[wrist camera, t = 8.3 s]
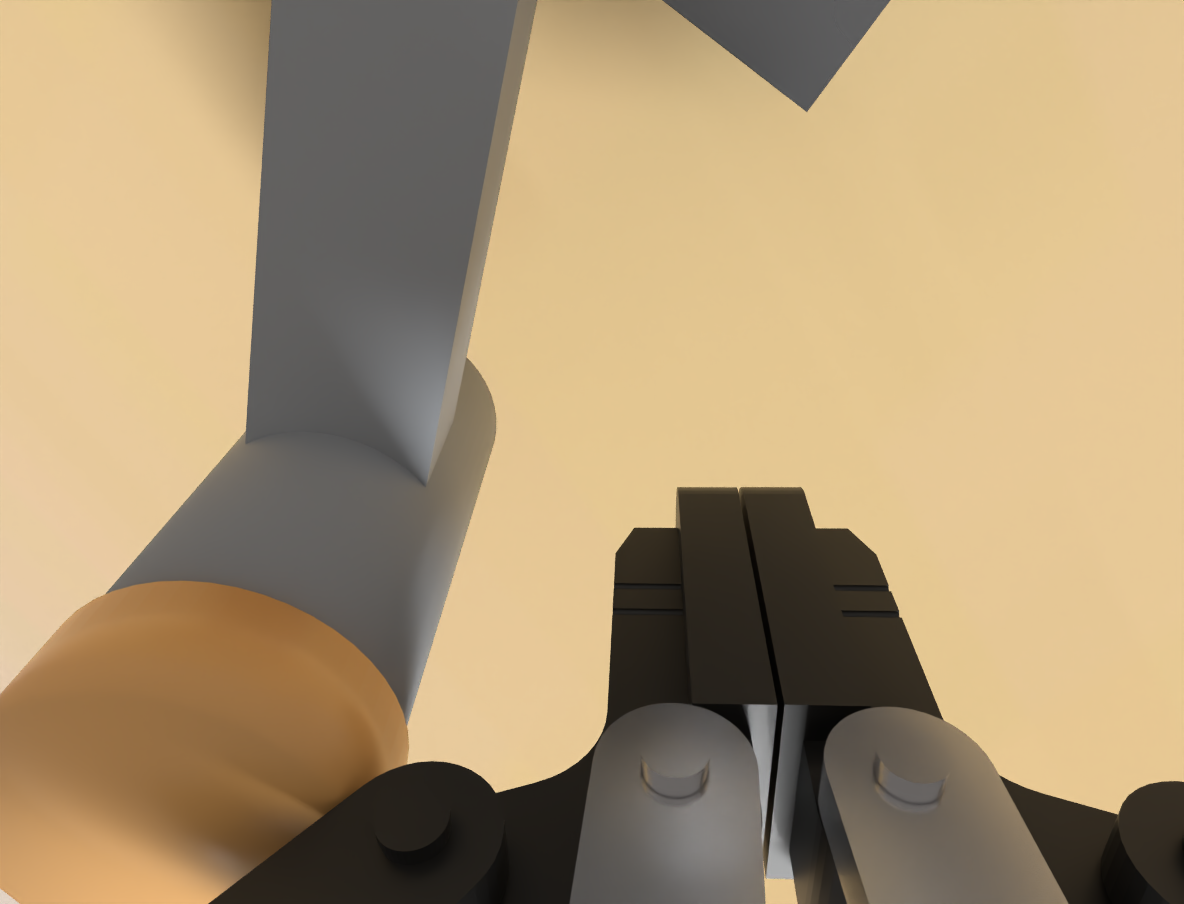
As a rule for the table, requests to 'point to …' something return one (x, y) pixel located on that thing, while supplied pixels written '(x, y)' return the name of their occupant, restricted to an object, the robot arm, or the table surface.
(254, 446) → the orange knob lever
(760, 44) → the base plate
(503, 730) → the table surface
